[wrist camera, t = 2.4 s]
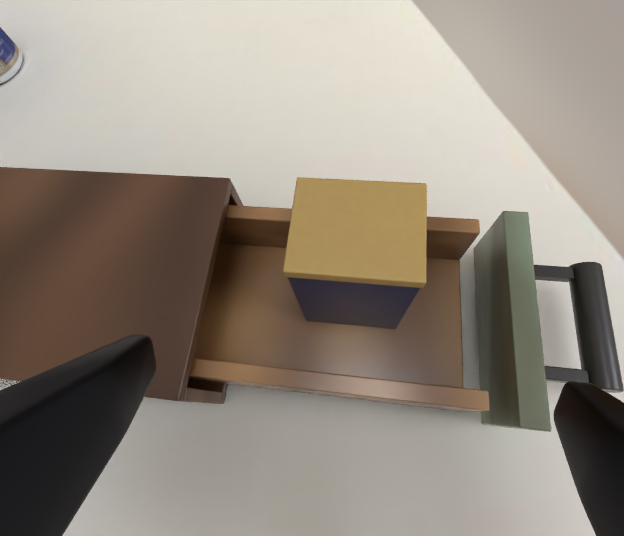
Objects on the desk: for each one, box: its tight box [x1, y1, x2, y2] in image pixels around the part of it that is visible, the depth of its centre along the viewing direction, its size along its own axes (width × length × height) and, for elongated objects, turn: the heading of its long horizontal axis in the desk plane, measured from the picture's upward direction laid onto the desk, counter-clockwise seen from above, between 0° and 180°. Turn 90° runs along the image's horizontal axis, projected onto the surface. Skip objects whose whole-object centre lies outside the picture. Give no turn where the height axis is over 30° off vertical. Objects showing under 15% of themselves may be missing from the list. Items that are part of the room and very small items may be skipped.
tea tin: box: [283, 178, 427, 329], centre depth 17 cm, size 4×5×8 cm
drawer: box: [189, 205, 624, 431], centre depth 19 cm, size 22×10×5 cm, turn 83°
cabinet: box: [0, 167, 243, 404], centre depth 21 cm, size 19×11×6 cm, turn 83°
